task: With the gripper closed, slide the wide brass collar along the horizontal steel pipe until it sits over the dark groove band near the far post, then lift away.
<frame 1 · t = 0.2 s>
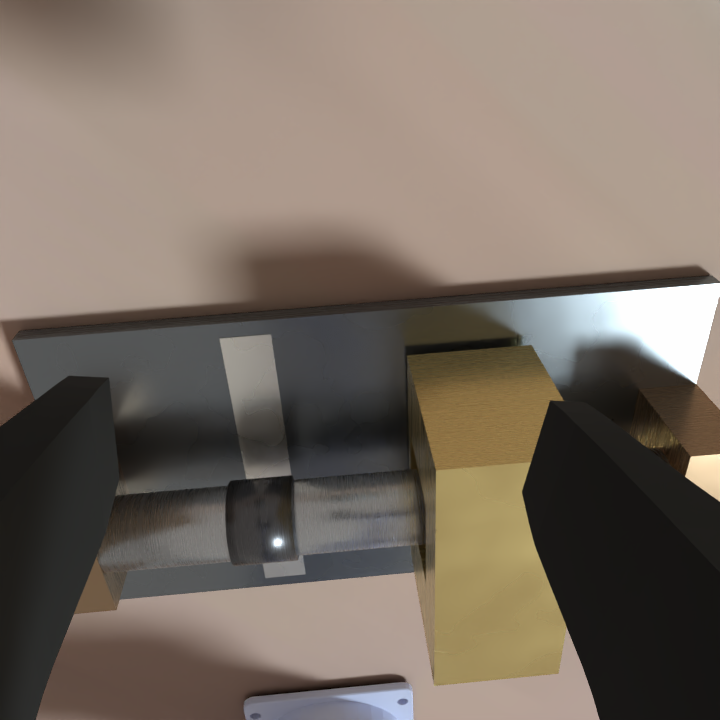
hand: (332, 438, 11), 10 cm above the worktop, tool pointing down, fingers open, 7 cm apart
collar: (483, 515, 21), point 4 cm above the worktop, slide at 0.0 cm
pipe rig: (378, 450, 24), on the worktop
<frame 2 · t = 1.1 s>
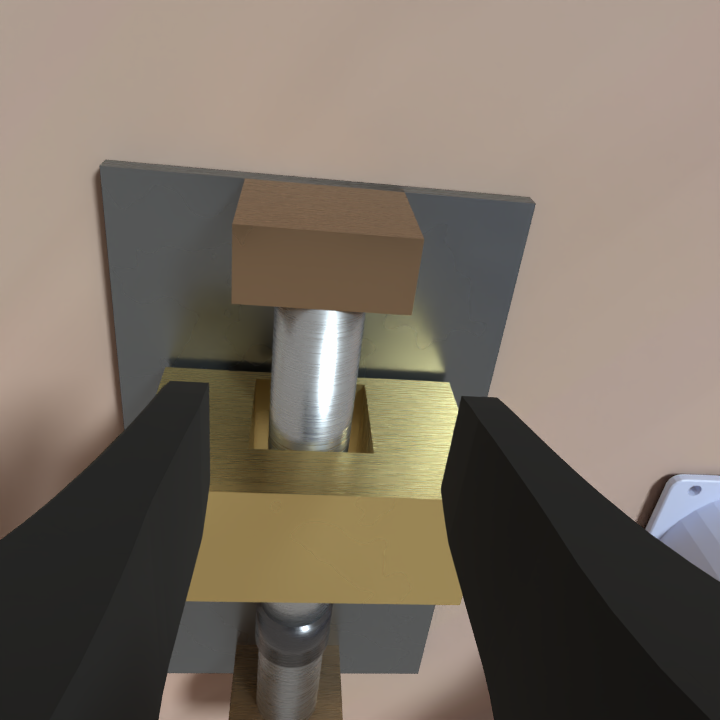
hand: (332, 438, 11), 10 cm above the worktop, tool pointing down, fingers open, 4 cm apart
collar: (306, 481, 20), point 4 cm above the worktop, slide at 0.0 cm
pipe rig: (301, 476, 24), on the worktop
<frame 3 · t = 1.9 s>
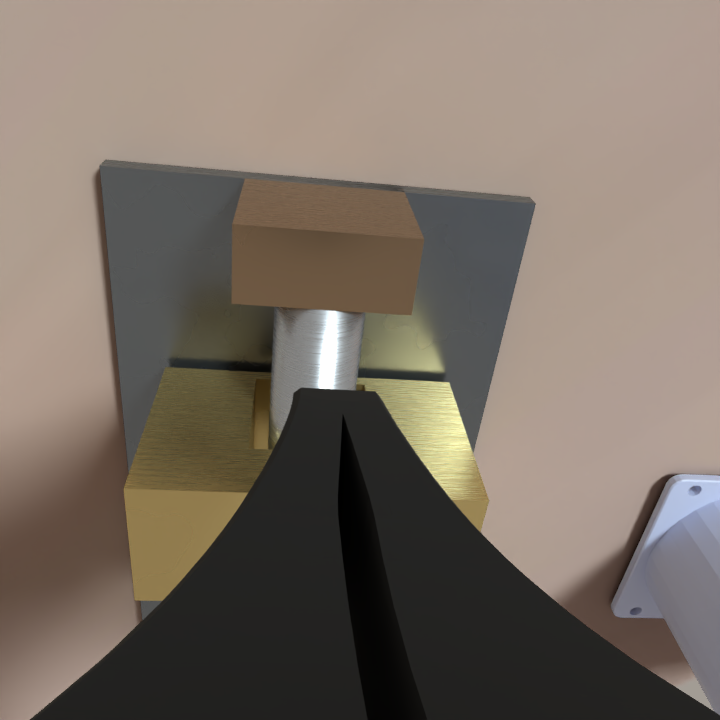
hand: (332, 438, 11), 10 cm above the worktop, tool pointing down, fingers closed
collar: (306, 481, 20), point 4 cm above the worktop, slide at 0.0 cm
pipe rig: (301, 476, 24), on the worktop
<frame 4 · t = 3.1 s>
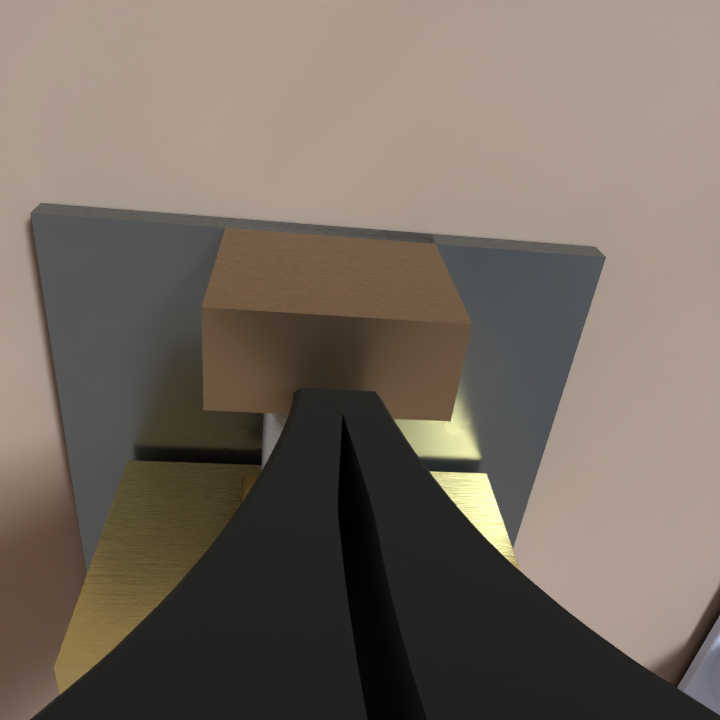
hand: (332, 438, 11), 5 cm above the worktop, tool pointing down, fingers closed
collar: (307, 612, 15), point 4 cm above the worktop, slide at 0.0 cm
pipe rig: (300, 575, 20), on the worktop
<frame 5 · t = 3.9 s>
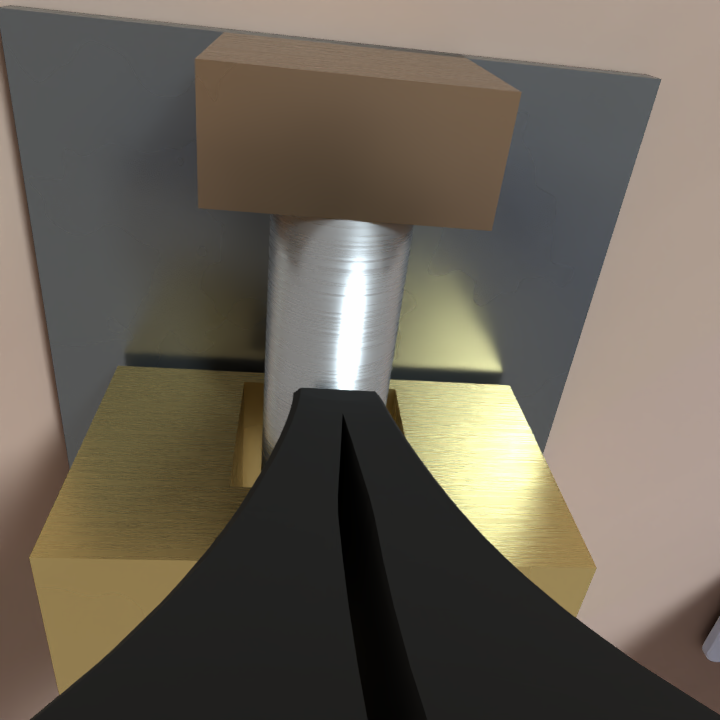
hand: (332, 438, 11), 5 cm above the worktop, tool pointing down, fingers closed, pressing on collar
collar: (315, 526, 14), point 4 cm above the worktop, slide at 0.9 cm, touching gripper
pipe rig: (308, 484, 18), on the worktop
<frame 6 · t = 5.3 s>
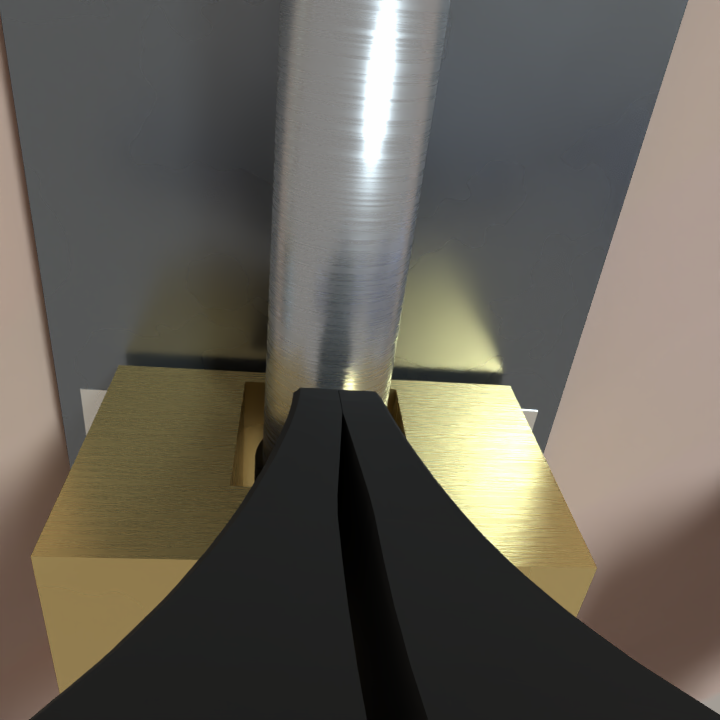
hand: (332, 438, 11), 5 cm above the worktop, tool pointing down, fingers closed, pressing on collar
collar: (316, 526, 14), point 4 cm above the worktop, slide at 7.3 cm, touching gripper
pipe rig: (328, 267, 15), on the worktop
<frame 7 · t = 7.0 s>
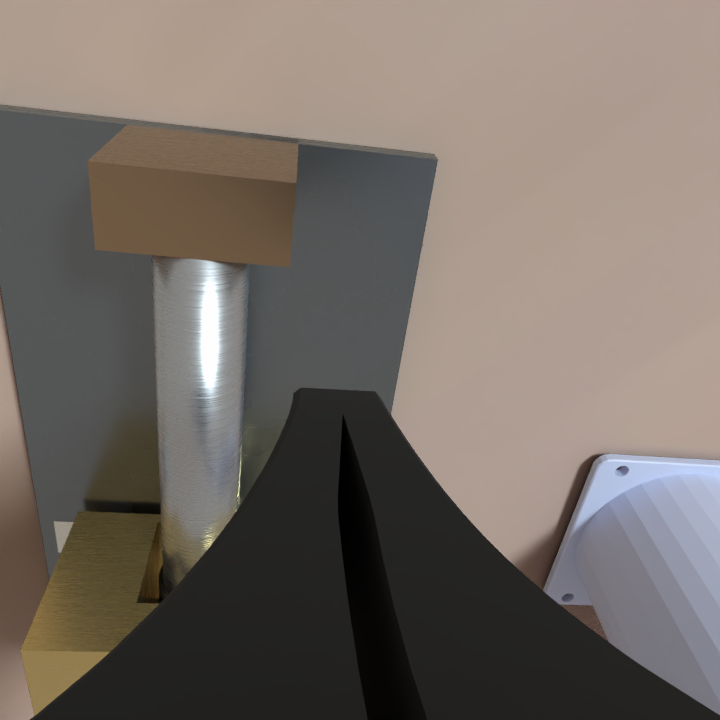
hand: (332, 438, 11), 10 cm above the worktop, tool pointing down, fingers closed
collar: (197, 617, 22), point 4 cm above the worktop, slide at 7.4 cm
pipe rig: (212, 449, 23), on the worktop
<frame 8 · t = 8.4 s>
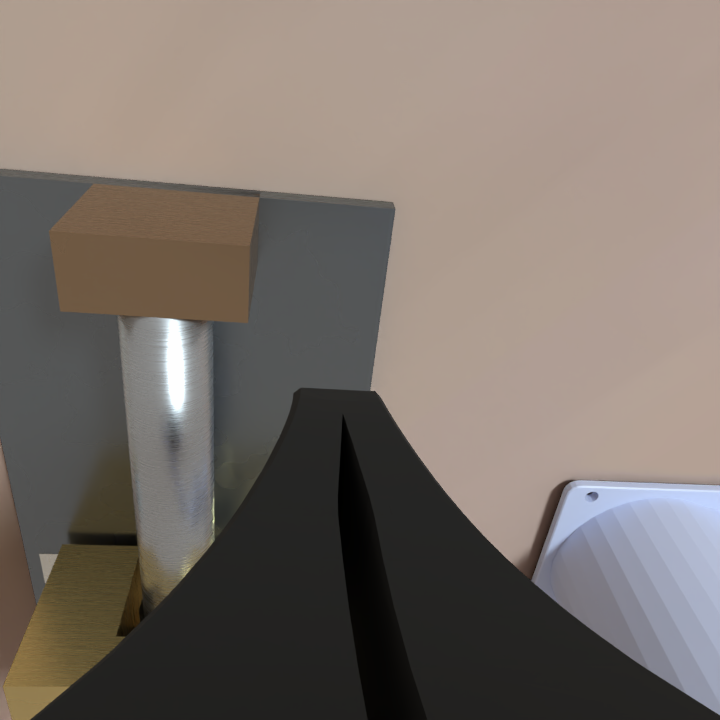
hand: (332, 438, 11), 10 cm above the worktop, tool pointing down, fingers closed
collar: (178, 647, 23), point 4 cm above the worktop, slide at 7.4 cm
pipe rig: (190, 482, 24), on the worktop
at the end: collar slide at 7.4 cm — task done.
